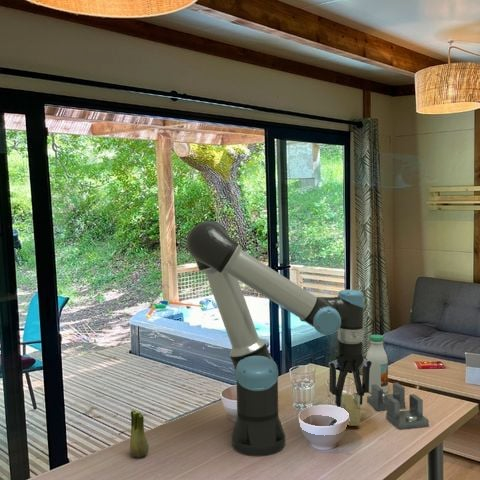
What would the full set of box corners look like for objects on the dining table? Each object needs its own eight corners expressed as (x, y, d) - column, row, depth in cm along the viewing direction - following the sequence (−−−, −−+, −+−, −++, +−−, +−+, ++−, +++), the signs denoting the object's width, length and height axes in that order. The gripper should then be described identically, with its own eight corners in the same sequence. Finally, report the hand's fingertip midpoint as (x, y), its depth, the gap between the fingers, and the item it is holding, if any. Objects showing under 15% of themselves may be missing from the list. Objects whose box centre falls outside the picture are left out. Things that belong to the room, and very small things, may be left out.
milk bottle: (373, 396, 178) (373, 339, 177) (361, 388, 185) (361, 334, 184) (392, 393, 180) (392, 337, 179) (379, 385, 188) (379, 332, 186)
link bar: (360, 425, 152) (360, 409, 151) (346, 425, 152) (347, 409, 151) (350, 409, 164) (350, 394, 163) (338, 409, 164) (338, 394, 163)
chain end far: (393, 399, 174) (393, 379, 174) (405, 408, 166) (405, 387, 166) (367, 402, 173) (366, 381, 172) (377, 411, 165) (377, 390, 164)
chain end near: (398, 429, 151) (398, 406, 150) (386, 418, 159) (386, 396, 158) (428, 426, 153) (428, 403, 152) (414, 415, 161) (414, 394, 160)
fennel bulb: (130, 451, 142) (128, 408, 141) (147, 448, 143) (146, 406, 142) (130, 461, 136) (129, 417, 135) (149, 458, 137) (147, 414, 137)
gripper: (327, 345, 151) (325, 422, 152) (382, 342, 154) (380, 418, 156) (318, 338, 158) (317, 412, 160) (371, 336, 161) (370, 408, 163)
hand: (348, 415), depth 158 cm, fingers closed on link bar, 4 cm apart
